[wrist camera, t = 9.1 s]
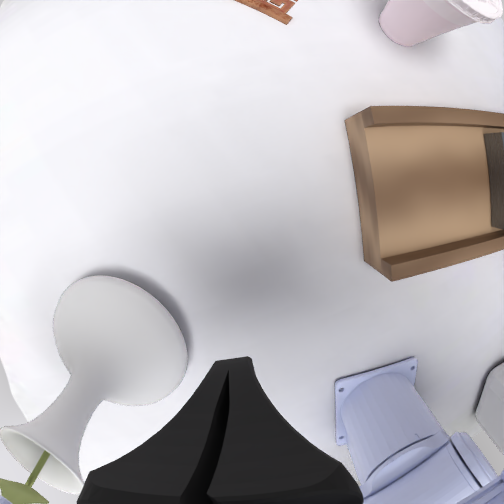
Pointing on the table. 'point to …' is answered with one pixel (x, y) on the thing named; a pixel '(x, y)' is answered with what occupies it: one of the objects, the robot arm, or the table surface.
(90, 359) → the flower in vase
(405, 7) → the smoothie
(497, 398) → the soap bottle
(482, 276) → the table surface
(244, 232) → the table surface
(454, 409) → the table surface
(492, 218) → the lever cap
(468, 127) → the wooden tray
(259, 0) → the key
